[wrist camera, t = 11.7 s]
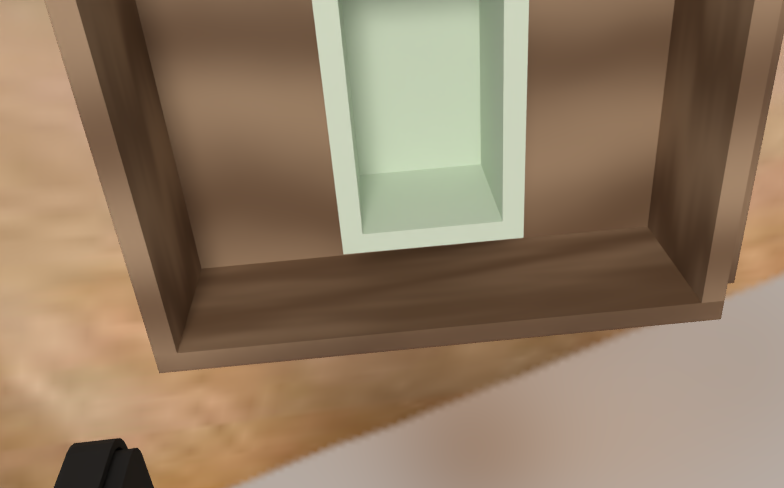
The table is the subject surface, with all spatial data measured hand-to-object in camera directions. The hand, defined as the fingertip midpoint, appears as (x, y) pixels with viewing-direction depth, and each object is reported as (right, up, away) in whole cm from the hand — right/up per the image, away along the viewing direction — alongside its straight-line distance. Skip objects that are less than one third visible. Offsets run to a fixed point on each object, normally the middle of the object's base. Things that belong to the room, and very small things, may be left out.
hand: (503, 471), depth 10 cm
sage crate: (-1, +10, +17) cm, 19 cm away
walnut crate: (-1, +10, +17) cm, 20 cm away
